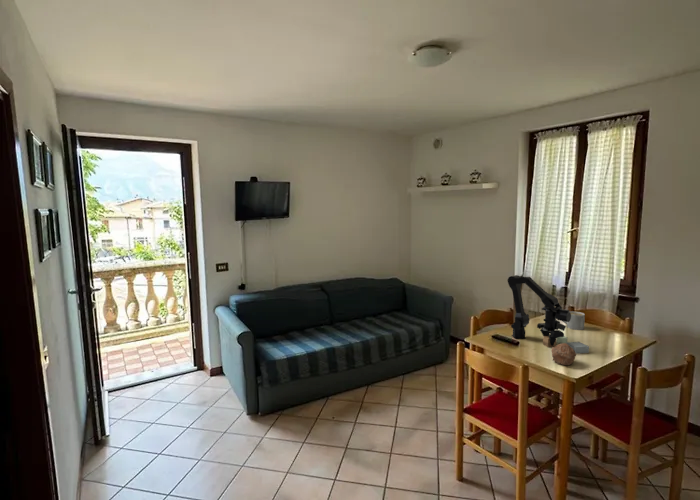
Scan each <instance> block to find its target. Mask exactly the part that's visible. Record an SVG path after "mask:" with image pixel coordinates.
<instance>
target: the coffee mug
mask: <svg viewBox="0 0 700 500" xmlns="http://www.w3.org/2000/svg"><path fill="white" fill-rule="evenodd" d="M569 312H570V314H571V320H570V321H569V322H565V321H561V322H562V323H564V324H565V325H566V327H567V328H568V329H570V330H574V331H583V330H585V318H586V317H585V316H586V315H585V313H584V312H580V311H569Z"/></svg>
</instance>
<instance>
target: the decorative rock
mask: <svg viewBox="0 0 700 500" xmlns="http://www.w3.org/2000/svg"><path fill="white" fill-rule="evenodd" d="M550 351H551V356H552V357H551V358H552V361H553V362H555V363H557V365H564V366H571V365H572V364H573V363H574V361H575V359H576V357H577V354H576V352H575V351H574V349H573V348H571V347H570V346H569V345H568V344H566V343H561V344H560V343H558V344H556V346H555V347H551V350H550Z"/></svg>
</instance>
